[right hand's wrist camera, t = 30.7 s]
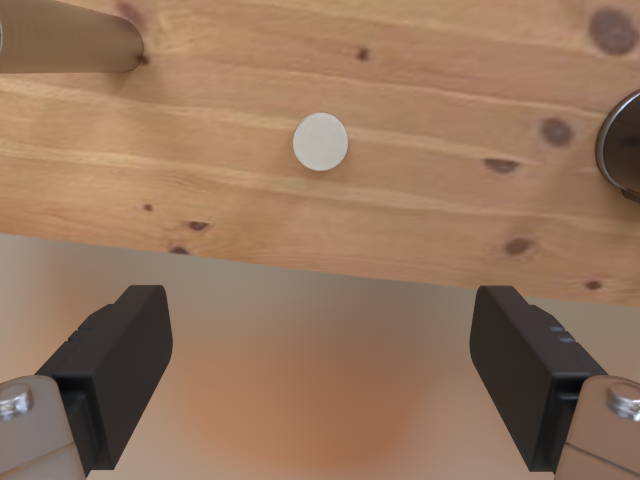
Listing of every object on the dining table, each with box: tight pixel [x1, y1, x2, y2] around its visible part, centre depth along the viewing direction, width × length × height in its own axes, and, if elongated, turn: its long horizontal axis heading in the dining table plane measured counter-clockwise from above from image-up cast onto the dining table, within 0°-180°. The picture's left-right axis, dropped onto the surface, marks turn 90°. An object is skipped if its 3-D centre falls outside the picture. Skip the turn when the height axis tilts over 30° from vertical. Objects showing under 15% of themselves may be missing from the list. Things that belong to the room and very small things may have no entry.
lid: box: [293, 113, 348, 171], centre depth 38 cm, size 5×5×2 cm
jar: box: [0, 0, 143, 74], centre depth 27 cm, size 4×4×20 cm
